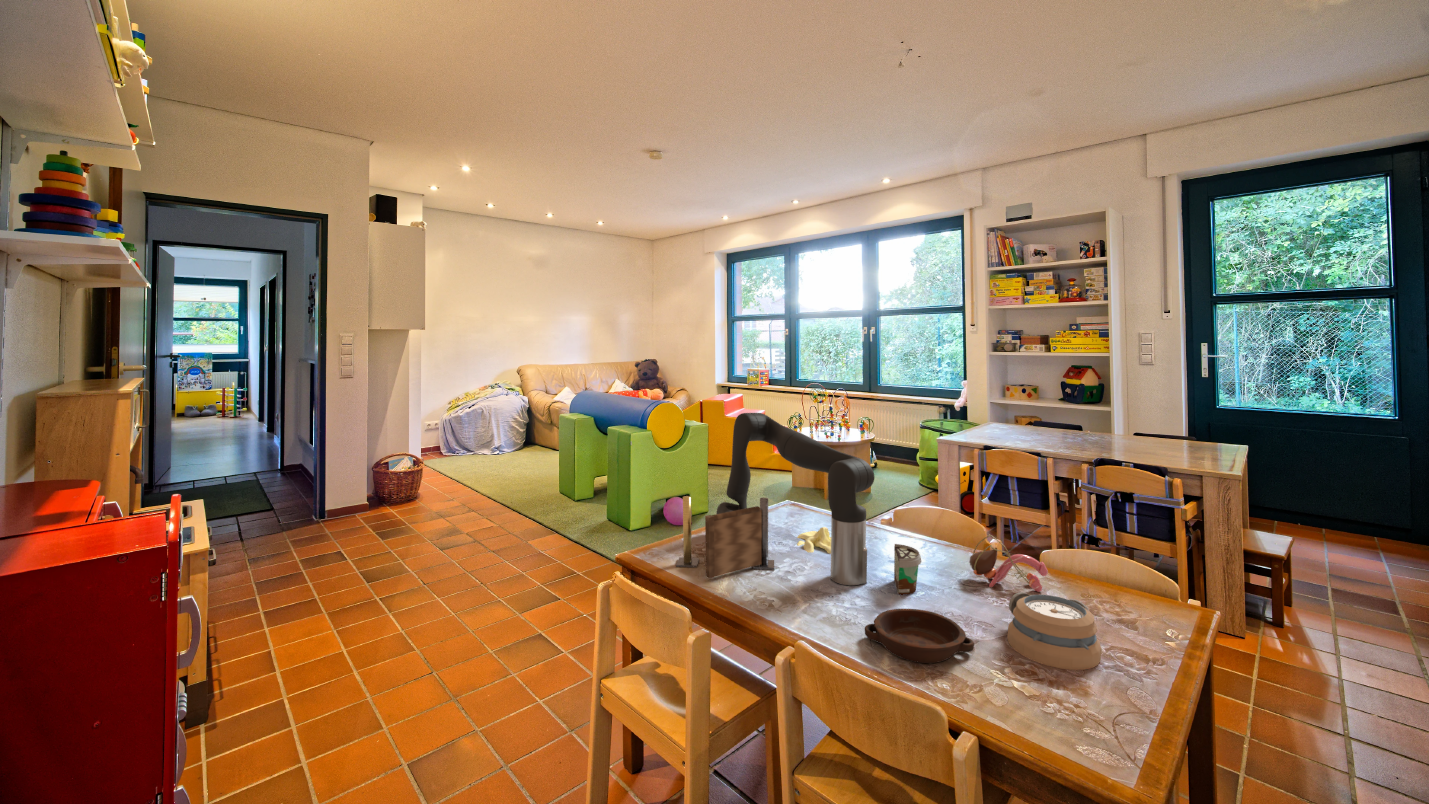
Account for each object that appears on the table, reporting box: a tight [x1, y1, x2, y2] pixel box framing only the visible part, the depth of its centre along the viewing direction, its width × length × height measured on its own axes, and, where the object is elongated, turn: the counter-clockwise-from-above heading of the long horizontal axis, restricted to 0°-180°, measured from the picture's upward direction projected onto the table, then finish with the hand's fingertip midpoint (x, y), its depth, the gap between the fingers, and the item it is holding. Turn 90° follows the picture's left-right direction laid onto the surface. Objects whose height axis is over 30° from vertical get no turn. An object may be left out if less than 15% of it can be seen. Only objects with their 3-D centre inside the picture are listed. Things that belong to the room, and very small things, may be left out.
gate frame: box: [675, 495, 775, 571], centre depth 168 cm, size 28×6×20 cm, turn 85°
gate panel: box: [704, 505, 762, 579], centre depth 161 cm, size 18×2×17 cm, turn 123°
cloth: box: [796, 526, 831, 555], centre depth 185 cm, size 22×19×6 cm
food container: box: [893, 543, 922, 596], centre depth 151 cm, size 12×6×10 cm, turn 168°
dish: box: [864, 608, 975, 664], centre depth 122 cm, size 18×22×5 cm
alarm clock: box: [1007, 591, 1102, 671], centre depth 124 cm, size 17×9×23 cm
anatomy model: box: [968, 534, 1049, 593], centre depth 153 cm, size 11×15×17 cm
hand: (726, 549), depth 162 cm, fingers closed
